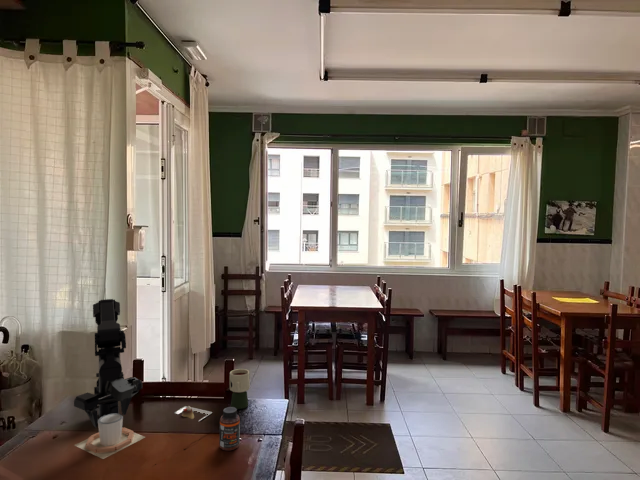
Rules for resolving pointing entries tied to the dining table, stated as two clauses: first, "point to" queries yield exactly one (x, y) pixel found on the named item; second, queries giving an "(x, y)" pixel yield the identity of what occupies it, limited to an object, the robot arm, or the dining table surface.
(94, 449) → the coaster ring
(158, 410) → the dining table surface
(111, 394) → the robot arm
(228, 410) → the supplement bottle
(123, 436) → the serving board
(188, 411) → the dessert
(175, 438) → the dining table surface
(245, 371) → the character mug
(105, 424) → the shot glass
